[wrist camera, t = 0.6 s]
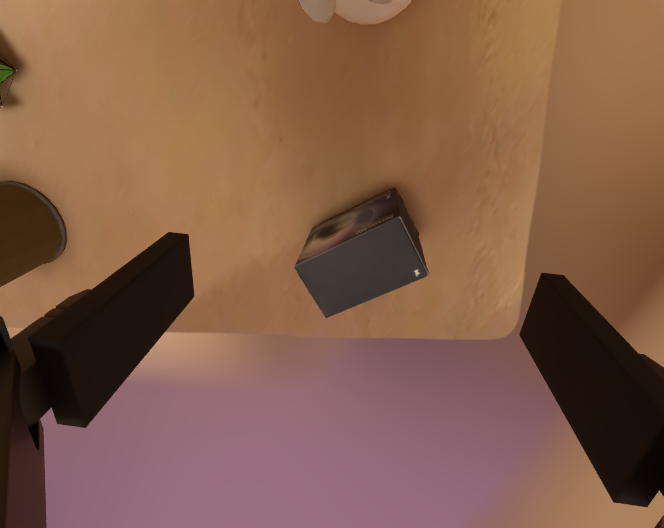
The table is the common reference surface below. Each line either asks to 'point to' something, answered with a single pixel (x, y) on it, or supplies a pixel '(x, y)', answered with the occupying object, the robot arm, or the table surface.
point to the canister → (27, 231)
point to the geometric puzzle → (5, 75)
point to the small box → (361, 254)
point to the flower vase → (354, 10)
